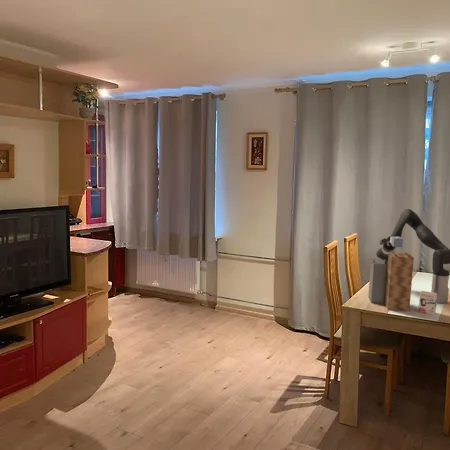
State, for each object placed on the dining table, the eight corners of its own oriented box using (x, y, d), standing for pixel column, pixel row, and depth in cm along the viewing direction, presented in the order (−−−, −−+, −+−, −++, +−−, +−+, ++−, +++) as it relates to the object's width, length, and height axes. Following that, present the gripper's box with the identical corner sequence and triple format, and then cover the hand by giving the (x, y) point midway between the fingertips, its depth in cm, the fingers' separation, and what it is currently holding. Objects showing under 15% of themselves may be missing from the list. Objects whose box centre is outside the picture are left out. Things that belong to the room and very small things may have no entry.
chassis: (384, 297, 301) (386, 259, 298) (387, 304, 287) (390, 264, 283) (367, 296, 303) (370, 258, 300) (371, 302, 288) (373, 263, 285)
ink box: (418, 312, 273) (420, 292, 271) (420, 309, 277) (421, 290, 275) (434, 314, 268) (435, 294, 267) (435, 312, 272) (437, 293, 271)
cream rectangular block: (395, 241, 301) (396, 232, 301) (402, 247, 280) (403, 237, 279) (387, 240, 302) (388, 231, 301) (393, 246, 281) (394, 237, 280)
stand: (405, 305, 284) (409, 252, 280) (409, 311, 273) (413, 255, 269) (384, 304, 286) (388, 251, 282) (387, 309, 275) (392, 254, 271)
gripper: (377, 241, 315) (381, 231, 299) (399, 242, 313) (404, 233, 297) (377, 251, 312) (381, 242, 296) (399, 253, 310) (405, 244, 294)
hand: (393, 238), depth 297 cm, fingers closed on cream rectangular block, 3 cm apart
